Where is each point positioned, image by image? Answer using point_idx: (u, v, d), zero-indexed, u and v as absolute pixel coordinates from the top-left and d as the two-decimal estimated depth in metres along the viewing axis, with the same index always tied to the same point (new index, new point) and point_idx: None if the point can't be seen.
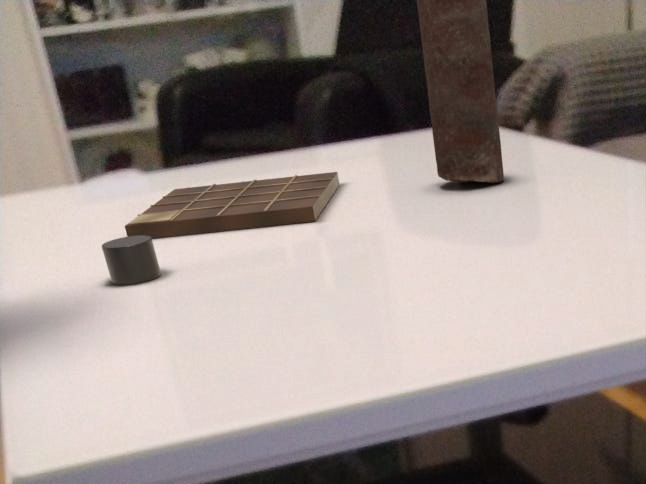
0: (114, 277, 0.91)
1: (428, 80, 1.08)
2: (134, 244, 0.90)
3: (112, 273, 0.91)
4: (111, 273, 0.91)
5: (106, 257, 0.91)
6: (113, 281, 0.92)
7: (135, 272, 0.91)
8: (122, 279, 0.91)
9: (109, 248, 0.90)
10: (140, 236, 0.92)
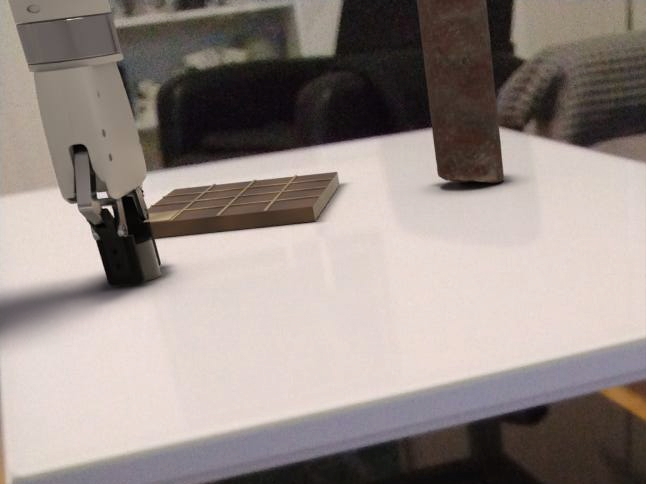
0: None
1: (428, 80, 1.08)
2: None
3: None
4: None
5: None
6: None
7: None
8: None
9: None
10: (140, 236, 0.92)
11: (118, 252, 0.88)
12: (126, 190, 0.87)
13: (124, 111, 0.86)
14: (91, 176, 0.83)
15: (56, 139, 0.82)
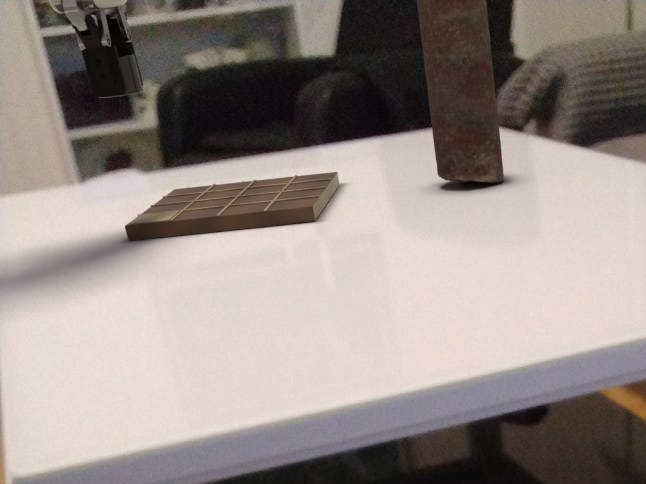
0: None
1: (428, 80, 1.08)
2: None
3: None
4: None
5: None
6: None
7: None
8: None
9: None
10: (124, 54, 1.00)
11: (102, 62, 0.96)
12: (109, 1, 0.94)
13: None
14: None
15: None
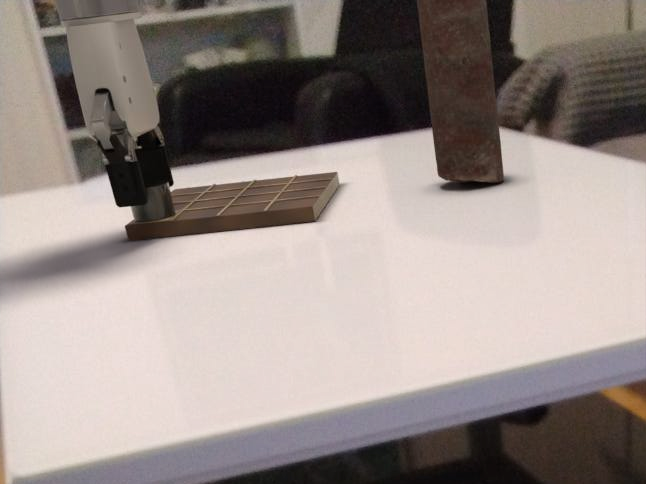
0: (136, 215, 1.07)
1: (428, 80, 1.08)
2: (154, 186, 1.05)
3: (134, 212, 1.07)
4: (134, 211, 1.07)
5: None
6: (135, 219, 1.07)
7: (154, 211, 1.06)
8: (143, 217, 1.06)
9: None
10: (158, 181, 1.08)
11: (125, 175, 1.01)
12: (142, 130, 1.02)
13: (141, 63, 1.01)
14: (107, 104, 0.97)
15: (84, 84, 0.97)
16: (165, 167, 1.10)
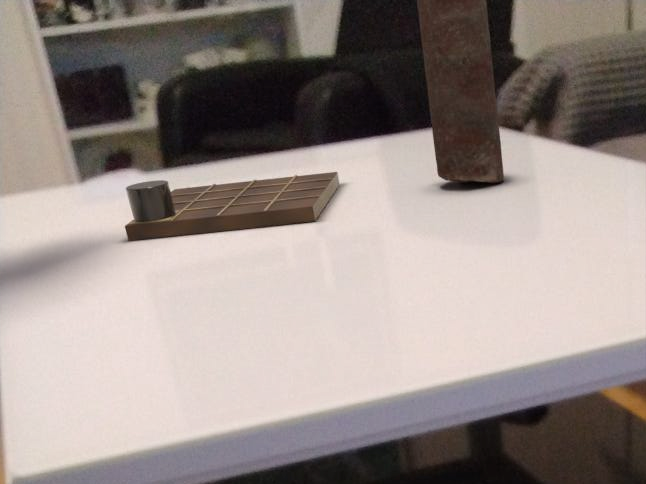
0: (136, 215, 1.07)
1: (428, 80, 1.08)
2: (154, 186, 1.05)
3: (134, 212, 1.07)
4: (134, 211, 1.07)
5: (129, 198, 1.06)
6: (135, 219, 1.07)
7: (154, 211, 1.06)
8: (143, 217, 1.06)
9: (132, 189, 1.05)
10: (158, 181, 1.08)
11: None
12: None
13: None
14: None
15: None
16: None
